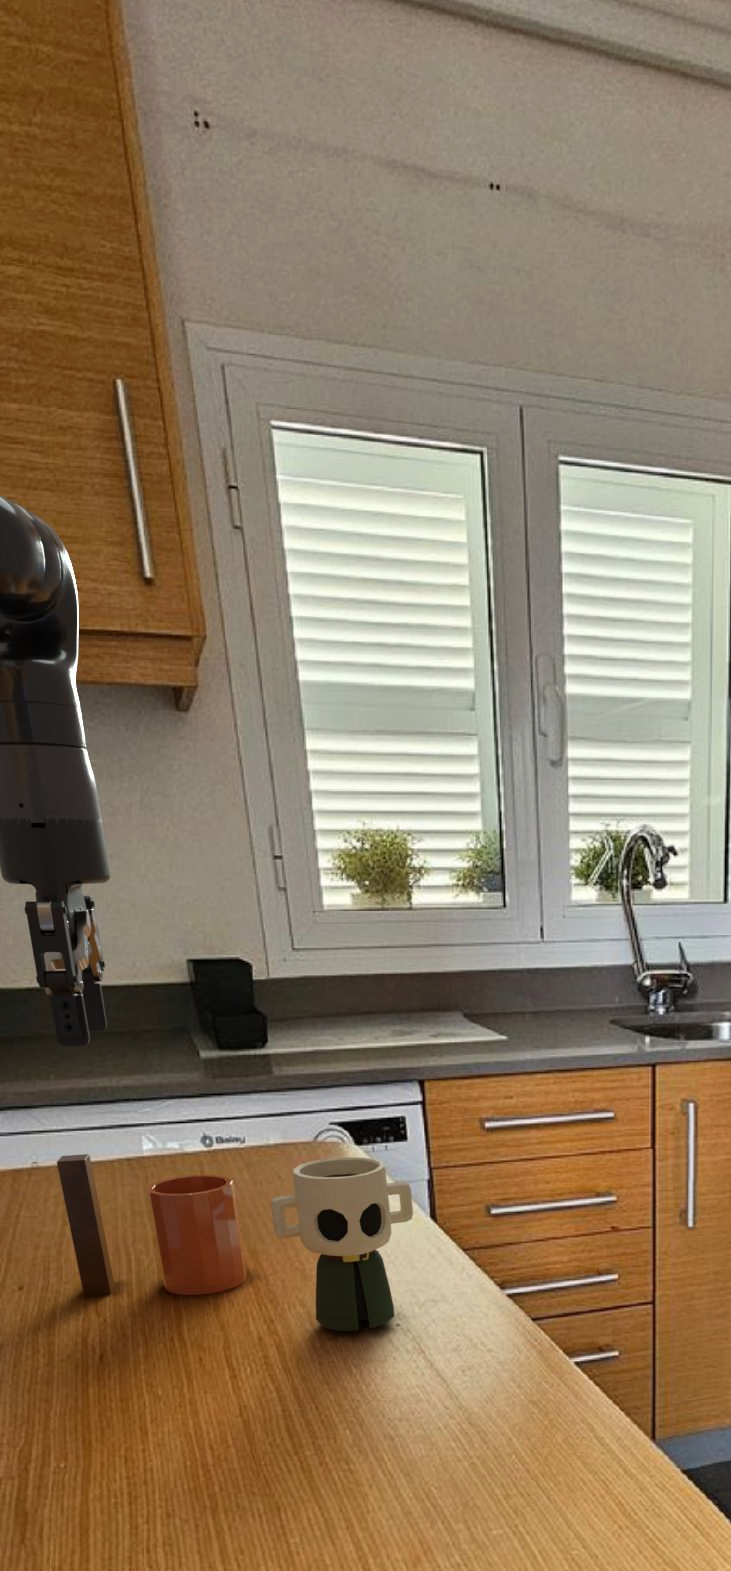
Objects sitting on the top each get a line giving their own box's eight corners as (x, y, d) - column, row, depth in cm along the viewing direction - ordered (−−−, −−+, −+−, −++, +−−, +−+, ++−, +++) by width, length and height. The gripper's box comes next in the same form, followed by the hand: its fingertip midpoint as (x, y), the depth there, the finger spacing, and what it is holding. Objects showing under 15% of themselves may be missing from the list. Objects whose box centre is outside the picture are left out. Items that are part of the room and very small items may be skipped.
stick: (83, 1296, 104) (56, 1161, 100) (88, 1288, 106) (61, 1155, 102) (110, 1294, 105) (84, 1159, 100) (114, 1286, 107) (89, 1153, 102)
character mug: (296, 1349, 92) (274, 1185, 87) (280, 1320, 98) (259, 1165, 93) (433, 1326, 97) (420, 1168, 92) (410, 1299, 103) (397, 1150, 98)
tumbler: (148, 1292, 105) (130, 1193, 102) (192, 1267, 111) (177, 1172, 108) (219, 1297, 104) (203, 1196, 100) (261, 1271, 110) (247, 1176, 107)
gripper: (13, 817, 95) (50, 1027, 101) (-34, 811, 82) (13, 1052, 88) (114, 818, 96) (145, 1024, 103) (84, 812, 84) (122, 1048, 90)
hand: (84, 1037), depth 95 cm, fingers open, 8 cm apart
